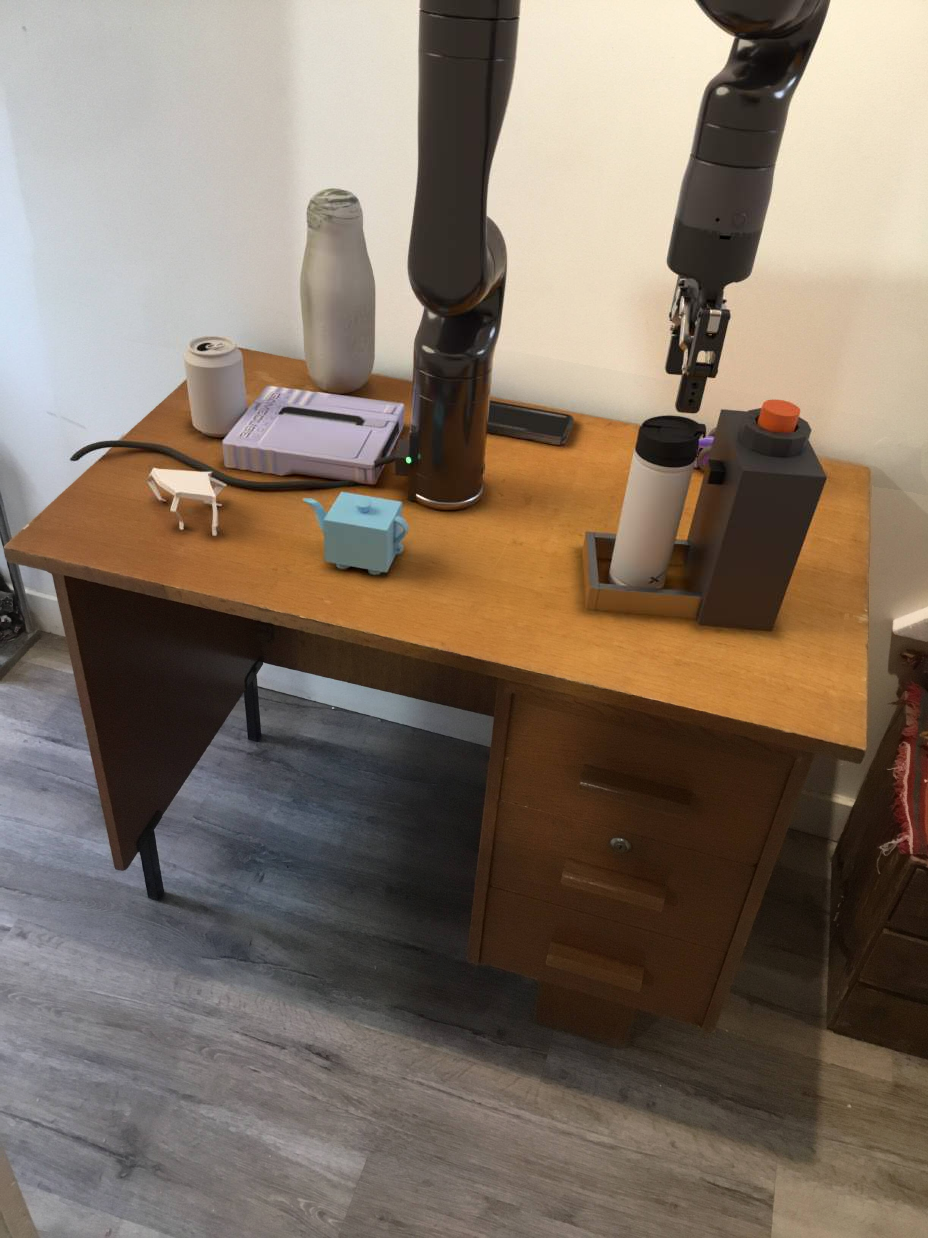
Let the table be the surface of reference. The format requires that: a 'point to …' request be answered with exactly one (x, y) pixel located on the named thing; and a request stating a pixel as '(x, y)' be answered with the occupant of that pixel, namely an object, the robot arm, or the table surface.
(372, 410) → the gaming console
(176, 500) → the origami figure
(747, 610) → the coffee maker
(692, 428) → the travel mug
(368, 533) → the teapot
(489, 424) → the phone
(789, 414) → the button
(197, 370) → the can
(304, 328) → the grey bottle
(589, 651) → the table surface
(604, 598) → the frame
